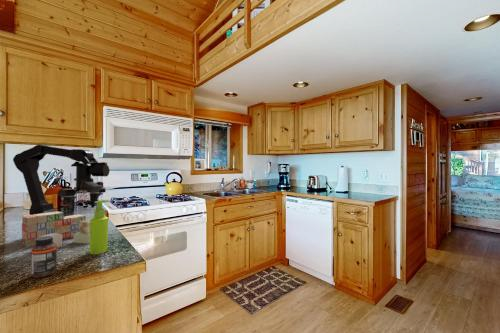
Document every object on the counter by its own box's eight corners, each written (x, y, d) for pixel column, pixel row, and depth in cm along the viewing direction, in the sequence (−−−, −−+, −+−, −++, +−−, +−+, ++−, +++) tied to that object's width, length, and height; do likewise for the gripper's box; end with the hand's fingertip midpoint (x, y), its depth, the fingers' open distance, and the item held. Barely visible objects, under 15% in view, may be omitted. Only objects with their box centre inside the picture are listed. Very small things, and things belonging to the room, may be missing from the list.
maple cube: (79, 232, 102) (79, 221, 102) (90, 229, 107) (91, 219, 107) (87, 234, 100) (87, 222, 100) (98, 231, 105) (98, 220, 105)
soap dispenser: (113, 249, 93) (114, 199, 93) (96, 255, 86) (97, 202, 87) (102, 247, 95) (103, 199, 95) (85, 253, 88) (86, 201, 88)
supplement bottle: (41, 269, 74) (42, 234, 74) (61, 269, 74) (62, 234, 74) (25, 278, 68) (25, 240, 68) (46, 278, 68) (47, 240, 68)
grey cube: (40, 248, 92) (40, 236, 92) (54, 244, 97) (54, 232, 97) (48, 250, 91) (48, 237, 91) (62, 246, 96) (62, 234, 96)
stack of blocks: (79, 232, 115) (79, 208, 115) (85, 234, 112) (86, 209, 112) (21, 244, 97) (21, 215, 97) (26, 247, 94) (27, 217, 94)
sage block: (73, 243, 100) (73, 234, 100) (88, 237, 108) (88, 229, 108) (89, 244, 99) (89, 235, 99) (103, 238, 107) (104, 230, 107)
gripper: (75, 177, 97) (74, 214, 96) (114, 176, 114) (113, 207, 114) (57, 176, 100) (56, 212, 100) (97, 175, 118) (97, 205, 118)
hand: (83, 209), depth 108 cm, fingers open, 9 cm apart
